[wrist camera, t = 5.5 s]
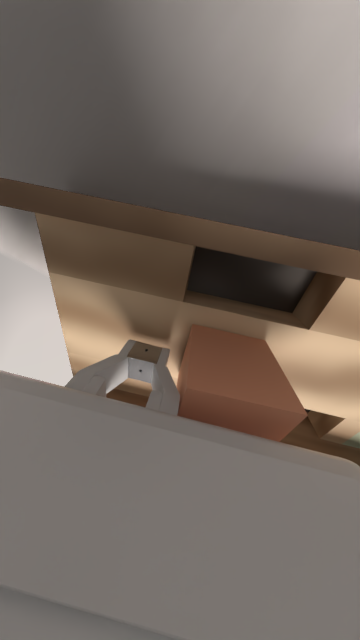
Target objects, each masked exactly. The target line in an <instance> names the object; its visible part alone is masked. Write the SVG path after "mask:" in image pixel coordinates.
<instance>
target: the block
mask: <svg viewBox="0 0 360 640" xmlns="http://www.w3.org/2000/svg"><path fill="white" fill-rule="evenodd" d="M177 390H178V392H179V394H180V401H179V408H178V414H177V416H180V417H184V418H188V419H192V420H196V421H200V422H204V423H207V424H211V425H215V426H219V427H223V428H227V429H231V430H235V431H239V432H242V433H246V434H250V435H254V436H258V437H262V438H266V439H270V440H274V441H277V442H280V441H281V440H282V439H283V438H284V437H285V436H286V435H287V434H288V433H290V432H291V431H292V430H293V429H294V428H295V427H296V426H297V425H298V424H299V423H300V422H301V421H303V420H304V419H305V418H306V417H307V416H308V414H307V412H306V411H305V409H304V407H303V405H302V404H301V402H300V400H299V398H298V397H297V395H296V393H295V391H294V390H293V388H292V386H291V384H290V383H289V381H288V379H287V377H286V376H285V374H284V372H283V370H282V369H281V367H280V365H279V363H278V362H277V360H276V358H275V356H274V355H273V353H272V351H271V349H270V348H269V346H268V344H267V342H266V341H265V340H261V339H257V338H253V337H248V336H244V335H239V334H235V333H230V332H226V331H222V330H217V329H213V328H208V327H204V326H200V325H195V324H192V327H191V330H190V334H189V338H188V341H187V345H186V349H185V352H184V356H183V359H182V363H181V367H180V370H179V374H178V380H177Z"/></svg>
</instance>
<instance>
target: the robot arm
mask: <svg viewBox="0 0 360 640" xmlns="http://www.w3.org/2000/svg"><path fill="white" fill-rule="evenodd" d="M169 354H170V349H167V348H162V347H158V346H154V345H150V344H146V343H142V342H139V341H134V340H131V339H129V340H128V341H127V342H126V344H125V345H124V347H123V348H122V350H121V351H120V352H119V354H118V355H117V354H115V355H113V356H110V357H108V358H106V359H104V360H101V361H99V362H97V363H95V364H92V365H90V366H88V367H86V368H83V369H81V370H79V371H78V372H77V373H76V375H75V376H74V377H73V378H72V379H71V380H70V381H69V382H68V384H67V385H66V386H65V387H63V386H59V385H55V384H51V383H47V382H44V381H40V380H35V379H32V378H28V377H24V376H20V375H16V374H12V373H9V372H5V371H0V640H360V467H359V466H358V465H357V464H355V463H354V462H352V461H350V460H347V459H344V458H340V457H337V456H333V455H329V454H325V453H321V452H317V451H313V450H309V449H305V448H301V447H297V446H293V445H289V444H285V443H281V442H277V441H274V440H270V439H266V438H262V437H258V436H254V435H250V434H246V433H242V432H239V431H235V430H231V429H227V428H223V427H219V426H215V425H211V424H207V423H204V422H200V421H196V420H192V419H188V418H184V417H180V416H177V414H178V408H179V401H180V394H179V392H178V390H177V387H176V385H175V383H174V381H173V378H172V376H171V374H170V372H169V369H168V367H167V363H168V359H169ZM128 378H131V379H135V380H140V381H143V382H147V383H151V386H152V390H153V391H151V393H150V396H149V399H148V402H147V405H146V407H141V406H137V405H133V404H129V403H125V402H122V401H118V400H114V399H110V398H106V394H107V393H108V392H110V391H111V390H113V389H114V388H115V387H117V386H118V385H119V384H121V383H122V382H124V381H125V380H126V379H128Z"/></svg>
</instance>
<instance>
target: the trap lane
mask: <svg viewBox="0 0 360 640" xmlns="http://www.w3.org/2000/svg"><path fill="white" fill-rule="evenodd" d="M0 205H1V206H6V207H11V208H16V209H21V210H25V211H30V212H35V216H36V220H37V225H38V229H39V233H40V237H41V241H42V246H43V250H44V254H45V258H46V263H47V267H48V271H49V275H50V280H51V284H52V288H53V292H54V297H55V300H56V305H57V309H58V313H59V318H60V322H61V326H62V330H63V334H64V339H65V343H66V347H67V351H68V355H69V360H70V364H71V368H72V373H73V377H74V376H75V375H76V373H77V372H78V371H79V370H81V369H83V368H86V367H88V366H90V365H92V364H95V363H97V362H99V361H101V360H104V359H106V358H108V357H110V356H113V355H115V354H117V355H118V354H119V352H120V351H121V350H122V348H123V347H124V345H125V344H126V342H127V341H128V340H129V339H131V340H134V341H139V342H142V343H146V344H150V345H154V346H158V347H162V348H167V349H170V354H169V359H168V363H167V367H168V369H169V372H170V374H171V376H172V378H173V381H174V383H175V385H176V387H177V380H178V374H179V370H180V367H181V363H182V359H183V356H184V352H185V349H186V345H187V341H188V338H189V334H190V330H191V327H192V324H195V325H200V326H204V327H208V328H213V329H217V330H222V331H226V332H230V333H235V334H239V335H244V336H248V337H253V338H257V339H261V340H265V341H266V342H267V344H268V346H269V348H270V349H271V351H272V353H273V355H274V356H275V358H276V360H277V362H278V363H279V365H280V367H281V369H282V370H283V372H284V374H285V376H286V377H287V379H288V381H289V383H290V384H291V386H292V388H293V390H294V391H295V393H296V395H297V397H298V398H299V400H300V402H301V404H302V405H303V407H304V409H305V411H306V412H307V414H308V416H307V417H306V418H305V419H304V420H303V421H301V422H300V423H299V424H298V425H297V426H296V427H295V428H294V429H293V430H292V431H291V432H290V433H288V434H287V435H286V436H285V437H284V438H283V439H282V440H281V441H280V442H281V443H285V444H289V445H293V446H297V447H301V448H305V449H309V450H313V451H317V452H321V453H325V454H329V455H333V456H337V457H340V458H344V459H347V460H350V461H352V462H354V463H355V464H357V465H358V466H359V467H360V251H359V250H354V249H349V248H344V247H340V246H335V245H330V244H325V243H320V242H315V241H310V240H305V239H300V238H295V237H290V236H285V235H280V234H275V233H271V232H266V231H261V230H256V229H251V228H246V227H241V226H236V225H231V224H226V223H221V222H216V221H211V220H206V219H202V218H197V217H192V216H187V215H182V214H177V213H172V212H167V211H162V210H157V209H152V208H147V207H142V206H137V205H133V204H128V203H123V202H118V201H113V200H108V199H103V198H98V197H93V196H88V195H83V194H78V193H73V192H68V191H63V190H59V189H54V188H49V187H44V186H39V185H34V184H29V183H24V182H19V181H14V180H9V179H4V178H0ZM151 391H153V390H152V386H151V383H147V382H143V381H140V380H135V379H131V378H128V379H126V380H125V381H124V382H122V383H121V384H119V385H118V386H117V387H115V388H114V389H113V390H111V391H110V392H108V393H107V394H106V398H110V399H114V400H118V401H122V402H125V403H129V404H133V405H137V406H141V407H146V405H147V402H148V399H149V396H150V393H151Z"/></svg>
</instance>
